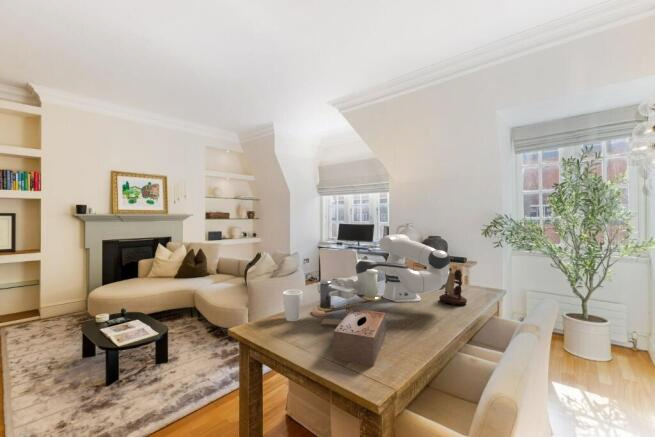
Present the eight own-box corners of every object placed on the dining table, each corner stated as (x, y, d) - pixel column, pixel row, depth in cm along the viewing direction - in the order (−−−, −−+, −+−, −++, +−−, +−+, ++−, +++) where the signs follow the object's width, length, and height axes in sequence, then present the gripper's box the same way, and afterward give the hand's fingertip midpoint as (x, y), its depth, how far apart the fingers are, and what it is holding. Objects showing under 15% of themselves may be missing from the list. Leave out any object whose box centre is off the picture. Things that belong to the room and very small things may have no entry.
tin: (331, 305, 134) (331, 279, 134) (330, 308, 129) (330, 282, 129) (320, 304, 135) (320, 279, 135) (318, 308, 130) (319, 282, 130)
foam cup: (303, 316, 142) (304, 290, 142) (300, 323, 133) (300, 295, 133) (285, 315, 143) (285, 289, 143) (280, 322, 134) (280, 294, 134)
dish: (332, 310, 151) (332, 308, 151) (330, 317, 141) (330, 314, 141) (313, 309, 152) (313, 307, 152) (310, 316, 142) (310, 313, 142)
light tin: (377, 295, 132) (377, 269, 132) (377, 298, 127) (378, 271, 127) (365, 294, 133) (366, 269, 132) (366, 297, 127) (366, 271, 127)
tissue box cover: (352, 331, 125) (352, 308, 125) (385, 336, 120) (385, 312, 120) (333, 359, 101) (333, 331, 101) (373, 367, 96) (374, 337, 96)
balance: (379, 323, 133) (379, 294, 133) (380, 330, 126) (381, 299, 125) (317, 320, 137) (318, 291, 136) (315, 326, 129) (315, 296, 128)
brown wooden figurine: (433, 300, 171) (434, 267, 171) (451, 297, 177) (452, 265, 177) (454, 307, 158) (454, 271, 157) (472, 304, 164) (473, 270, 163)
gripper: (360, 298, 134) (340, 304, 124) (329, 290, 148) (309, 295, 138) (360, 285, 134) (341, 290, 124) (329, 278, 148) (309, 282, 138)
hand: (324, 292), depth 131 cm, fingers closed on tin, 5 cm apart
